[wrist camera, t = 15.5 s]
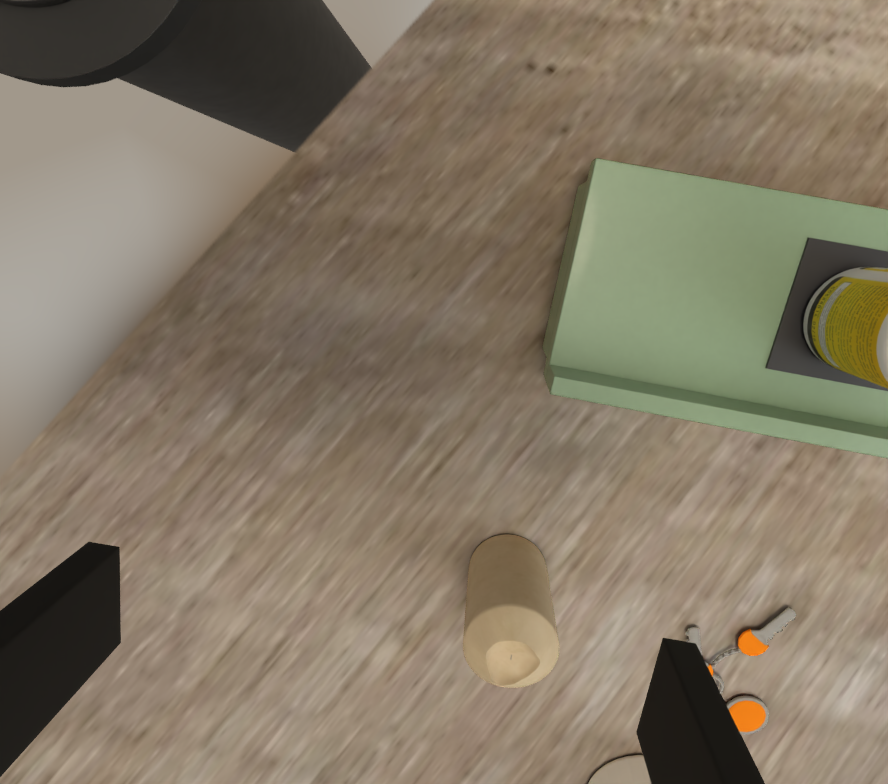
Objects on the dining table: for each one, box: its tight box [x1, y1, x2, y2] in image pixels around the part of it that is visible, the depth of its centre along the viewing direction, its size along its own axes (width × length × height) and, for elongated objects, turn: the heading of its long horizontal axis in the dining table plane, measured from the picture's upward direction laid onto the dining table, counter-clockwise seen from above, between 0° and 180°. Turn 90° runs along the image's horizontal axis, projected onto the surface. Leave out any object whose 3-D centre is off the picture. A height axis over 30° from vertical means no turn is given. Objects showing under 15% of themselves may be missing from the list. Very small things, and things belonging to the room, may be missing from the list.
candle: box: [463, 534, 559, 688], centre depth 38 cm, size 6×6×10 cm
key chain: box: [686, 608, 796, 735], centre depth 43 cm, size 13×7×1 cm, turn 173°
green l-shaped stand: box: [542, 158, 888, 458], centre depth 33 cm, size 12×22×8 cm, turn 80°
